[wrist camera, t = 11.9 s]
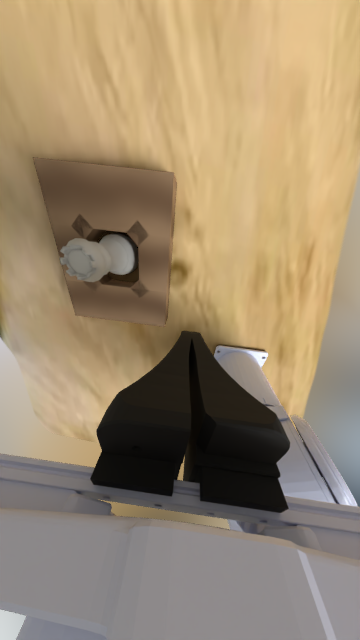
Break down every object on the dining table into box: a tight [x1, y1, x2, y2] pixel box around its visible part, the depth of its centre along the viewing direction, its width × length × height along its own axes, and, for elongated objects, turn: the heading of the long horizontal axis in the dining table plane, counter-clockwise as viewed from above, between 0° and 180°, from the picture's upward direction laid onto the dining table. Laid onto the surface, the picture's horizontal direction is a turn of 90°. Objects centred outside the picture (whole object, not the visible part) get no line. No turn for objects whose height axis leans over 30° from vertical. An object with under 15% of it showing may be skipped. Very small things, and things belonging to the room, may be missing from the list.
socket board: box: [33, 157, 177, 327], centre depth 17 cm, size 15×12×2 cm
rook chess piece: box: [59, 233, 139, 282], centre depth 14 cm, size 4×4×8 cm
